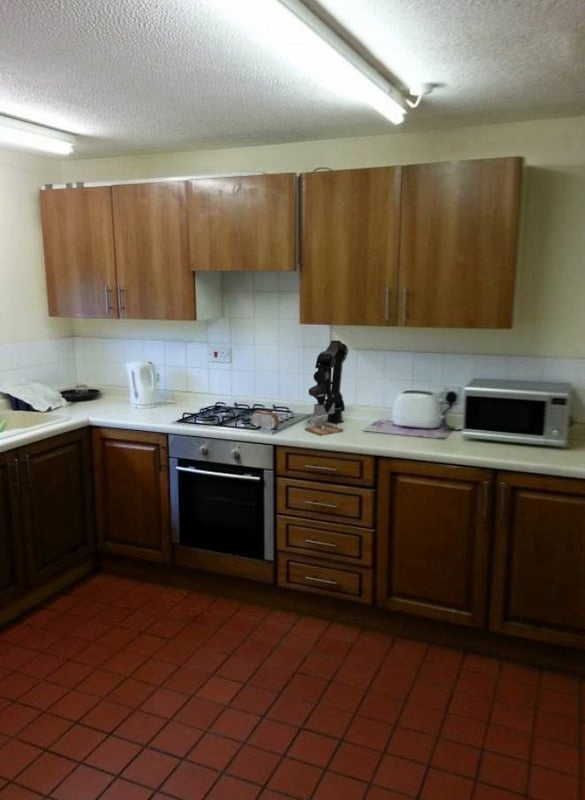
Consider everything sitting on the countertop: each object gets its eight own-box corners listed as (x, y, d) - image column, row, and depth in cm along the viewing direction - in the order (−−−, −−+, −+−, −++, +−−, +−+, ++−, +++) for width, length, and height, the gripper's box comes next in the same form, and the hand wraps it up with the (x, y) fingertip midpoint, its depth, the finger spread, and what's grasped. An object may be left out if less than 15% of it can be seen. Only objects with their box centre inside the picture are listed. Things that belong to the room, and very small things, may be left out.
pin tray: (327, 426, 319) (327, 419, 318) (342, 431, 309) (343, 424, 309) (304, 430, 311) (304, 422, 310) (320, 435, 301) (320, 428, 301)
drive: (328, 411, 313) (328, 401, 312) (334, 413, 310) (334, 402, 309) (314, 414, 307) (314, 404, 306) (319, 415, 304) (320, 405, 303)
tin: (279, 429, 311) (279, 412, 310) (276, 431, 309) (276, 414, 307) (253, 425, 319) (253, 409, 317) (250, 426, 316) (250, 410, 314)
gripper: (300, 378, 308) (299, 409, 311) (324, 384, 293) (323, 417, 296) (318, 376, 314) (317, 407, 317) (343, 382, 300) (341, 414, 303)
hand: (324, 411), depth 308 cm, fingers closed on drive, 4 cm apart
